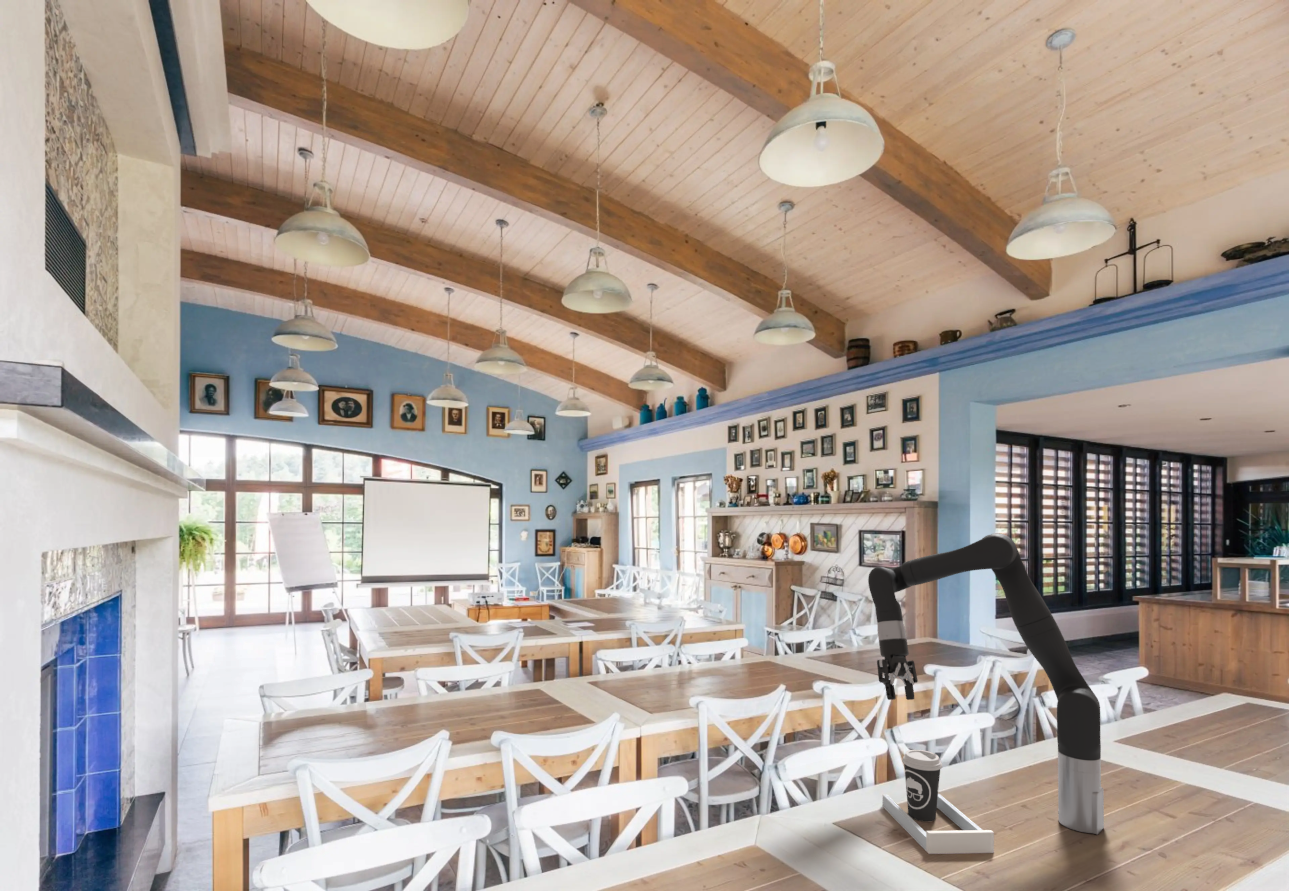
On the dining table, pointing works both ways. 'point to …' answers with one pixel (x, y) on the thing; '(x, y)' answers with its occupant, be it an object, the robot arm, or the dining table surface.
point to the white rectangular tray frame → (944, 841)
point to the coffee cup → (922, 783)
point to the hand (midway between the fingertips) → (901, 699)
